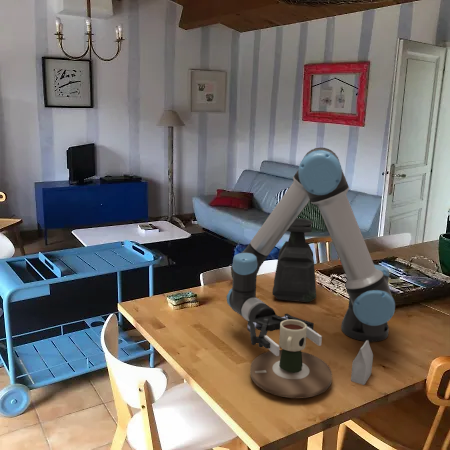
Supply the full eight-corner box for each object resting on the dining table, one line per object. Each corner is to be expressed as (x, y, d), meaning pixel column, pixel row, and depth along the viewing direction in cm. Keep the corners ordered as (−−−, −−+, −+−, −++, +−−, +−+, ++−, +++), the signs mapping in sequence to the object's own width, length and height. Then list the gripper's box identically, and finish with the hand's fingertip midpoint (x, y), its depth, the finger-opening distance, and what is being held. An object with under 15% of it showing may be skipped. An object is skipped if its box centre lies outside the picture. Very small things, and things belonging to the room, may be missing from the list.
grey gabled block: (371, 373, 138) (374, 341, 135) (364, 385, 132) (367, 351, 130) (358, 370, 139) (361, 338, 137) (350, 380, 134) (353, 347, 131)
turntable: (313, 351, 146) (314, 346, 146) (345, 393, 125) (345, 387, 125) (242, 357, 142) (242, 352, 141) (262, 402, 121) (262, 396, 120)
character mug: (299, 381, 127) (303, 335, 124) (273, 376, 129) (275, 330, 126) (307, 361, 137) (310, 318, 134) (282, 357, 139) (284, 314, 136)
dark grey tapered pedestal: (274, 285, 203) (277, 215, 195) (314, 288, 200) (319, 217, 193) (272, 302, 185) (275, 225, 178) (315, 305, 183) (321, 228, 176)
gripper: (292, 318, 153) (336, 349, 134) (221, 333, 142) (258, 369, 124) (294, 296, 151) (338, 324, 132) (222, 309, 140) (259, 342, 122)
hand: (299, 346), depth 128 cm, fingers open, 13 cm apart
